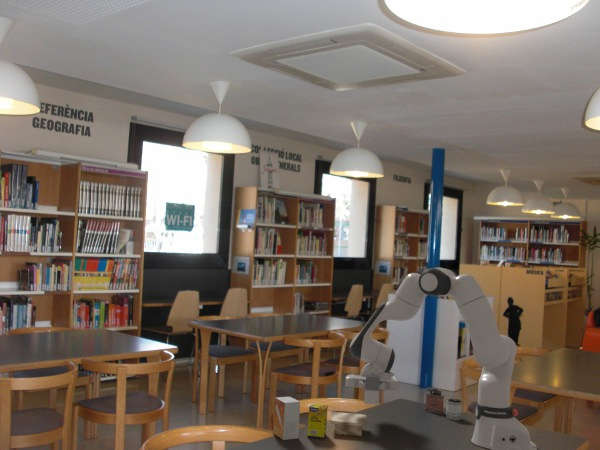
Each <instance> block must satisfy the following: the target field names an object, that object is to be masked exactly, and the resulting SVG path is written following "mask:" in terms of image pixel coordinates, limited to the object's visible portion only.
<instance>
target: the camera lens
mask: <svg viewBox="0 0 600 450" xmlns="http://www.w3.org/2000/svg"><path fill="white" fill-rule="evenodd" d="M445 408H446V409H445V414H446V419H448V420H450V421H461V419H462V411H463V402H462V400H460V399H457V398H449V399H447V400H446V407H445Z"/></svg>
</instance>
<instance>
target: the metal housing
mask: <svg viewBox="0 0 600 450" xmlns="http://www.w3.org/2000/svg"><path fill="white" fill-rule="evenodd" d="M379 382H380V375H375V374H366V386H365V388H364V404H365V405H375V406H379V397H380V390H379Z"/></svg>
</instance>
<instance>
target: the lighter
mask: <svg viewBox="0 0 600 450" xmlns="http://www.w3.org/2000/svg"><path fill="white" fill-rule="evenodd" d="M427 391H428V392H425V408H424V411H425V412H427V413H428V412H429V413H432V414H433V413H434V414H439V415H442V414H444V401H445V395H443V394H442V393H443V391H442V390H441V389H439V388H434V387H427Z"/></svg>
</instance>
